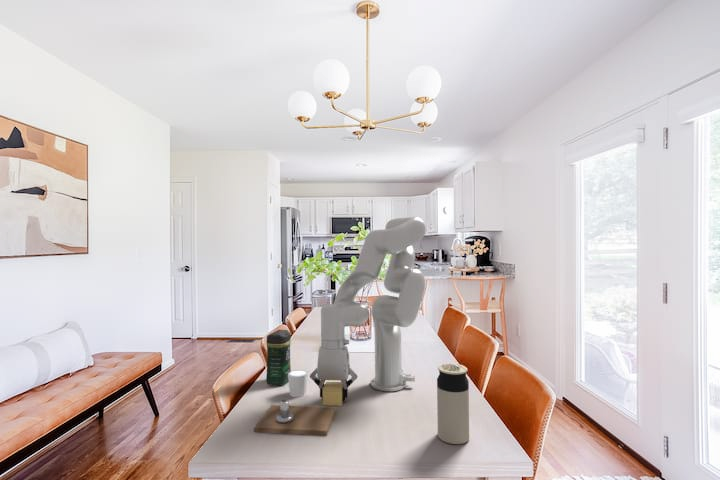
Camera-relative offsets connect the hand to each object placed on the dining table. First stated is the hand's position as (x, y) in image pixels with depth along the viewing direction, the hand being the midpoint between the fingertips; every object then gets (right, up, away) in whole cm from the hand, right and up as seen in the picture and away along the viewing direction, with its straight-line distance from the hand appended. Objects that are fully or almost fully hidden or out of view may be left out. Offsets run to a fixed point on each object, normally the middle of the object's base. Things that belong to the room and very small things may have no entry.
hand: (333, 399), depth 120 cm
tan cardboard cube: (0, -1, 0) cm, 1 cm away
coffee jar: (-21, -1, +17) cm, 28 cm away
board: (-10, -1, -13) cm, 16 cm away
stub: (-13, +1, -15) cm, 20 cm away
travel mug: (+33, 0, -23) cm, 40 cm away
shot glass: (-12, -1, +6) cm, 14 cm away
